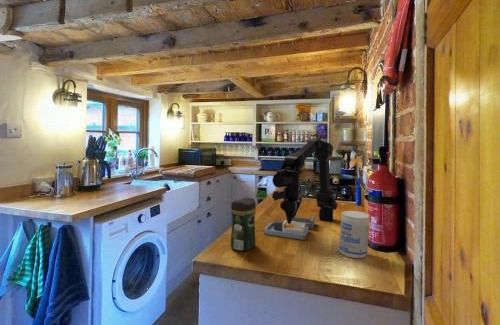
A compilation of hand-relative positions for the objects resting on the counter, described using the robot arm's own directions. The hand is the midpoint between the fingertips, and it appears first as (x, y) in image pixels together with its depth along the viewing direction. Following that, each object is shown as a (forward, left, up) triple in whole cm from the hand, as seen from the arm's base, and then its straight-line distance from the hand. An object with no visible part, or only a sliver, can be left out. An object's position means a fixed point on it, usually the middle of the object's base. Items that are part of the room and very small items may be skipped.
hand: (291, 220), depth 117 cm
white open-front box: (+1, 0, -5) cm, 5 cm away
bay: (-2, -13, -6) cm, 14 cm away
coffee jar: (+14, +22, -6) cm, 27 cm away
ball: (+1, -1, -3) cm, 3 cm away
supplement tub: (-25, +12, -6) cm, 28 cm away
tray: (+2, 0, -6) cm, 6 cm away
